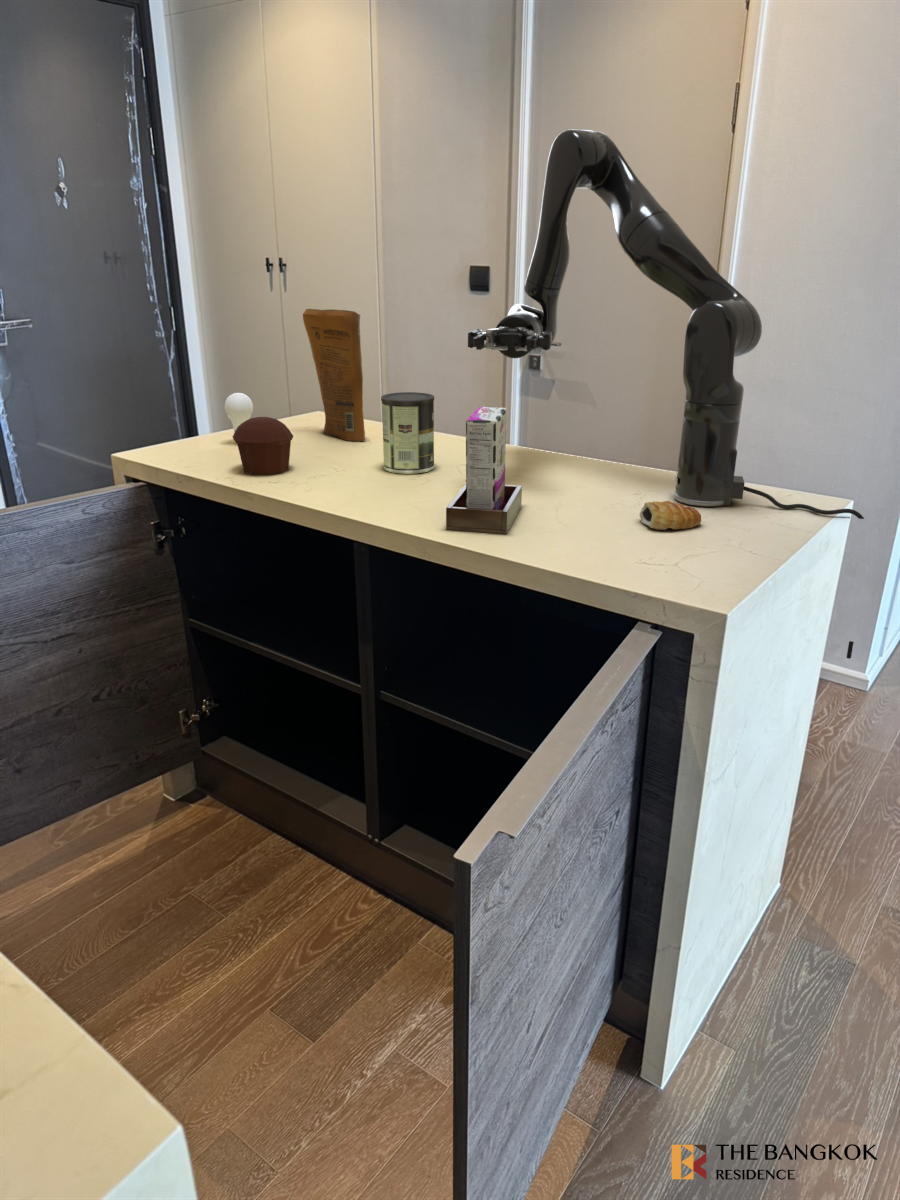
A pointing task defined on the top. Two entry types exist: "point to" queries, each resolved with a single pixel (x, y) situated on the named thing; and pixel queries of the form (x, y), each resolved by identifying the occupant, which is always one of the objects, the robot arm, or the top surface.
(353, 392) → the pancake mix bag
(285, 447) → the muffin
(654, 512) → the pastry
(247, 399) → the lightbulb
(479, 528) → the open box
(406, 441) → the coffee can
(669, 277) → the robot arm
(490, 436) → the candy bar box
